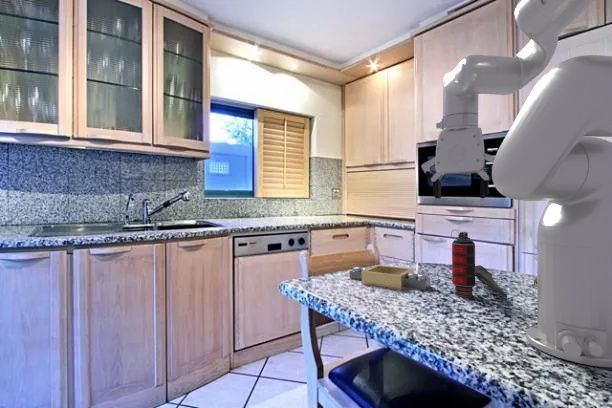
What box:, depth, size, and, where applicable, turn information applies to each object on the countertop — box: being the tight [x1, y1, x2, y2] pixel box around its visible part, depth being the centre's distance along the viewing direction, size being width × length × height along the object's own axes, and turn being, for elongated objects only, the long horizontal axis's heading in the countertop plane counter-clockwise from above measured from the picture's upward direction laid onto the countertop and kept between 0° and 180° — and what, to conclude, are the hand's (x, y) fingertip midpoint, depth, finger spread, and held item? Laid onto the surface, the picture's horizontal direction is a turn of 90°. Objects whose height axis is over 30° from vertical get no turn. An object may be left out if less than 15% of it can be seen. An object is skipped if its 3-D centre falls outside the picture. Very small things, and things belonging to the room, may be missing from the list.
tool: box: [475, 265, 508, 299], centre depth 81 cm, size 21×8×3 cm
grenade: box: [450, 229, 476, 298], centre depth 76 cm, size 6×5×15 cm
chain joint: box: [349, 264, 431, 291], centre depth 87 cm, size 10×21×4 cm, turn 56°
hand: (459, 198), depth 77 cm, fingers open, 9 cm apart
